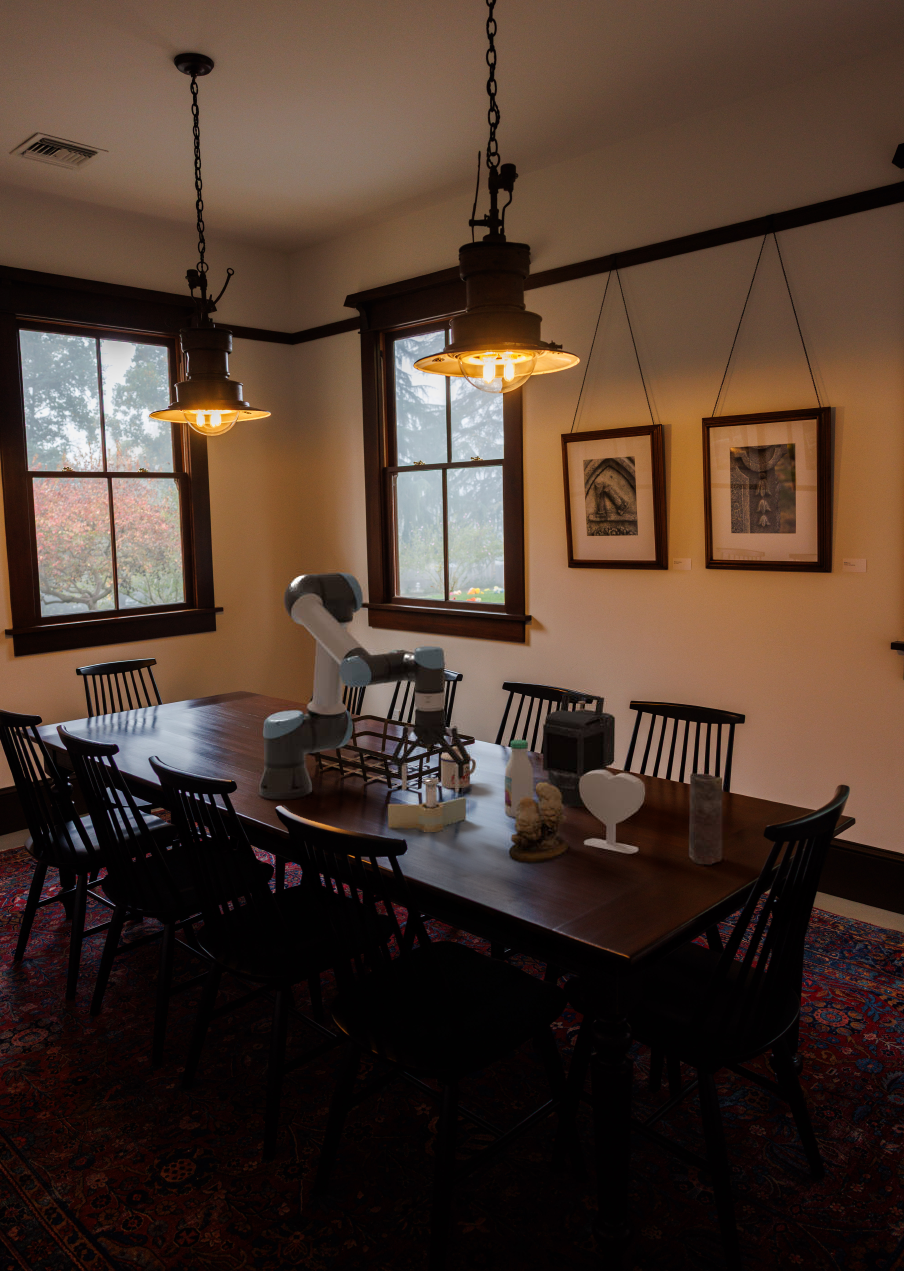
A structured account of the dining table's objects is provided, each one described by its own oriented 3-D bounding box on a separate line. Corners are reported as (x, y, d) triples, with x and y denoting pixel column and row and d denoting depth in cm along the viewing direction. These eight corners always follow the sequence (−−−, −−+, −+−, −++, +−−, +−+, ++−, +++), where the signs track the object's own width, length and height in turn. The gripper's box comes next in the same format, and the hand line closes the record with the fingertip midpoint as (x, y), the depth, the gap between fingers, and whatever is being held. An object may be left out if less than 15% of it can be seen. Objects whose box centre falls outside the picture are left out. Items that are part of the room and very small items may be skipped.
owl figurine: (540, 835, 217) (542, 769, 215) (581, 847, 209) (582, 778, 207) (496, 855, 203) (497, 785, 201) (538, 868, 196) (539, 795, 194)
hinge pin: (422, 830, 221) (422, 782, 219) (424, 825, 225) (424, 777, 223) (438, 831, 220) (437, 782, 219) (440, 826, 224) (439, 778, 223)
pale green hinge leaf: (428, 834, 218) (428, 811, 217) (414, 827, 223) (414, 805, 222) (472, 822, 227) (472, 800, 226) (457, 816, 232) (457, 794, 231)
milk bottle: (536, 810, 236) (536, 739, 234) (529, 819, 229) (529, 745, 226) (509, 808, 239) (509, 737, 236) (501, 816, 231) (501, 743, 229)
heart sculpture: (645, 848, 207) (646, 775, 205) (637, 855, 203) (638, 780, 201) (585, 836, 216) (586, 766, 213) (576, 842, 211) (577, 771, 209)
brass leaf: (386, 831, 221) (386, 808, 220) (390, 823, 227) (390, 800, 226) (441, 833, 219) (441, 810, 218) (444, 824, 225) (444, 802, 224)
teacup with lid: (452, 791, 254) (452, 752, 253) (434, 784, 262) (434, 746, 260) (484, 784, 261) (484, 746, 260) (466, 777, 269) (466, 740, 267)
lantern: (537, 800, 245) (537, 696, 242) (573, 786, 258) (574, 687, 255) (581, 811, 235) (582, 702, 231) (617, 796, 248) (618, 693, 244)
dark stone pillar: (683, 854, 203) (685, 771, 201) (714, 853, 204) (716, 770, 202) (695, 866, 196) (697, 780, 193) (726, 865, 196) (729, 779, 194)
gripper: (378, 710, 216) (379, 792, 219) (477, 711, 214) (478, 795, 216) (384, 704, 224) (385, 784, 226) (480, 705, 221) (480, 786, 223)
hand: (430, 789), depth 221 cm, fingers open, 13 cm apart
